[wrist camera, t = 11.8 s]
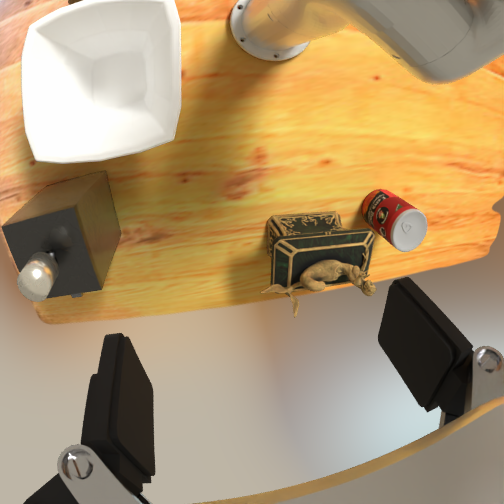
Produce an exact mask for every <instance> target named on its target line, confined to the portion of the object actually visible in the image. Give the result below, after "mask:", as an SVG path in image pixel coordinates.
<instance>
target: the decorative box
mask: <svg viewBox="0 0 504 504" xmlns="http://www.w3.org/2000/svg"><path fill="white" fill-rule="evenodd" d="M374 239H375V234H374V233H373V231H372V230H370V229H368V228H365V229H353V230H346V229H344V228H343V227H342V224H341V218H340V215H339V214H338V213H337V212H336V211H333V212H317V213H302V214H288V215H275V216H272V217H271V218H270V219H269V220H268V240H267V254H268V255H269V256H270V257H271V258H272V260H271V286H270V287H268V288H267V289H265V290H263V291H261V292H260V293H267V292H275V293H285V294H286V295H288V296H289V297H291V301H292V303H293V312H294V317H296V315H297V311H298V307H299V301H298V299H297V298H295V297H294V296H293V295H291V292H293V291H301V290H310V291H322V290H323V289H324V288H325V287H328V286H334V285H341V284H347V283H352V284H354V285H355V286H357V287H358V288H360V289H361V290H362V292H363V293H364V294H365V295H367V296H372V295H373V294H374V292H375V291H376V288H375V285H373V284H372V282H371V281H370V280H367V281H365V280H364V279H365V278H366V277H368V276H369V275H370V274H369V275H367V274H368V269H369V264H370V259H371V254H372V249H373V244H374Z"/></svg>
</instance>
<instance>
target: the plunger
mask: <svg viewBox="0 0 504 504" xmlns="http://www.w3.org/2000/svg"><path fill="white" fill-rule="evenodd" d="M54 258H55V254H54V251H53V250H51V251H49V253H46V252H36V253H35V254H33V255H32V257H31V258H30V259H29V261H28V262H27V264H26V265H25V267H24V268H23V269H22V271H21V272H20V274H19V275H18V278H17V285H18V288H19V290H20V291H21V293H22V294H23V295H24V296H25V297H26V298H28V299H29V300H31V301H35V302H40V301H43V300H45V299H46V297H47V296H48V294H49V292H50V290H51V288H52V286H53V284H54V282H55V280H56V278H57V276H58V274H59V267H58V264H57V262H56V260H55V259H54Z"/></svg>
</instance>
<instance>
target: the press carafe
mask: <svg viewBox="0 0 504 504" xmlns="http://www.w3.org/2000/svg"><path fill="white" fill-rule="evenodd" d="M2 230H3V233H4V235H5V238H6V241H7V243H8V246H9V248H10V251H11V253H12V256H13V258H14V261H15V263H16V265H17V268H18V270H19V272H21V271H22V269H23V268H24V267H25V265H26V264H27V262H28V261H29V259H30V258H31V257H32V255H33V254H35V253H36V252H46V253H49V251H51V250H53V251H54V254H55V258H54V259H55V260H56V262H57V264H58V267H59V274H58V276H57V278H56V280H55V282H54V284H53V286H52V288H51V290H50V292H49V294H48V296H47V297H46V298H52V297H59V296H65V295H71V296H72V298H75V297H81V296H82V295H83V293H84V292H91V291H97V290H102V287H103V284H104V281H105V278H106V275H107V272H108V269H109V266H110V263H111V261H112V258H113V255H114V252H115V249H116V247H117V244H118V241H119V239H120V236H121V230H120V227H119V223H118V219H117V215H116V211H115V207H114V203H113V199H112V195H111V191H110V187H109V182H108V178H107V173H106V171H101V172H97V173H93V174H89V175H85V176H81V177H77V178H73V179H70V180H66V181H62V182H59V183H55V184H52V185H48V186H46V187H45V188H44V189H43V190H41V191H40V192H39V193H38V194H37V195H35V196H34V197H33V198H32V199H31V200H30V201H29V202H27V203H26V204H25V205H24V206H23V207H22V208H21V209H20V210H19V211H17V212H16V213H15V214H14V215H13V216H12V217H11V218H10V219H9V220H8V221H7V222H6V223H5V224H4V225H3V226H2Z"/></svg>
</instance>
